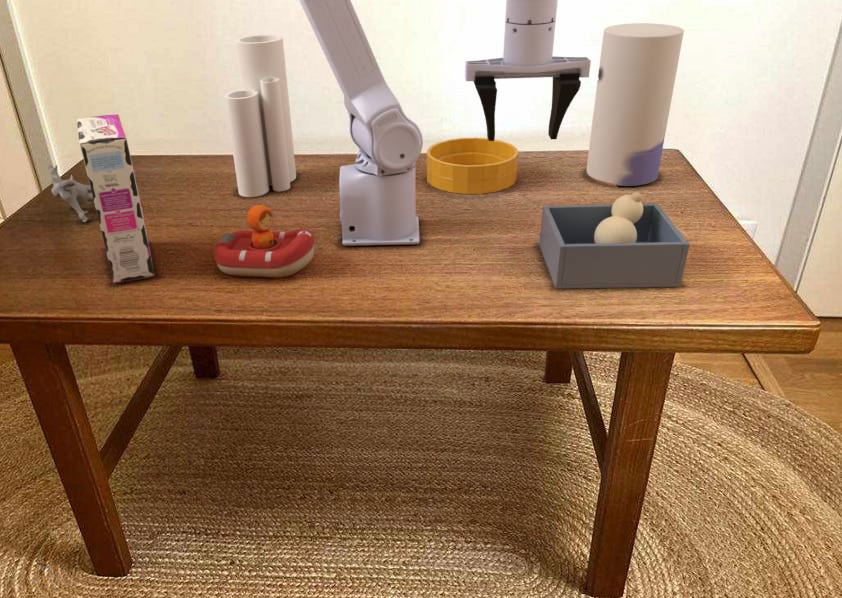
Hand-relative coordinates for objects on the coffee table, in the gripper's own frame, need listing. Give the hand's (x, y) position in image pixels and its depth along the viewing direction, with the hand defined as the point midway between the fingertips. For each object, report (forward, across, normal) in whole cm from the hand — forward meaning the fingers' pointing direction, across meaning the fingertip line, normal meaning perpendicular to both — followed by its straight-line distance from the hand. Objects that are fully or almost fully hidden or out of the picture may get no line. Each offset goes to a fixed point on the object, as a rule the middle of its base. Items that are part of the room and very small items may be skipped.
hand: (521, 137), depth 91 cm
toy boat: (+10, +31, +15) cm, 36 cm away
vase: (+10, +35, -13) cm, 39 cm away
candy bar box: (+10, +48, +13) cm, 51 cm away
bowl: (+10, +5, -12) cm, 16 cm away
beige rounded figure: (+9, -8, +16) cm, 20 cm away
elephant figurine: (+10, +61, -4) cm, 62 cm away
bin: (+10, -8, +16) cm, 20 cm away
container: (+10, -17, -13) cm, 24 cm away
